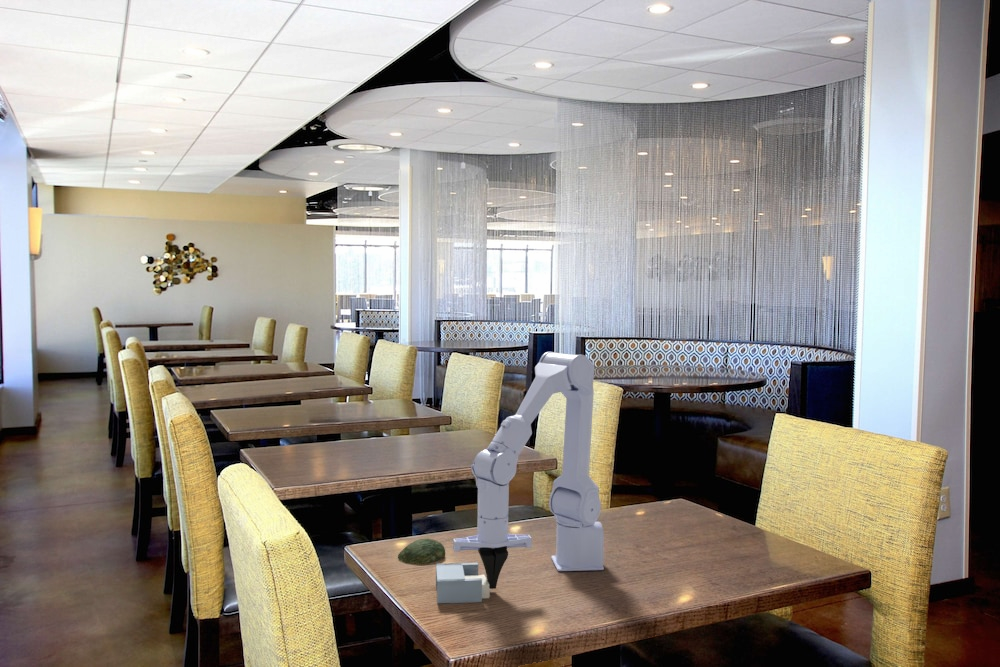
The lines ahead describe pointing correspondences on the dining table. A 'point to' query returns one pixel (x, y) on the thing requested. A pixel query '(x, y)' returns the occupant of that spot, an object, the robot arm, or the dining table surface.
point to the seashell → (422, 552)
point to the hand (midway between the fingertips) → (491, 586)
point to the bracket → (458, 583)
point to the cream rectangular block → (484, 584)
